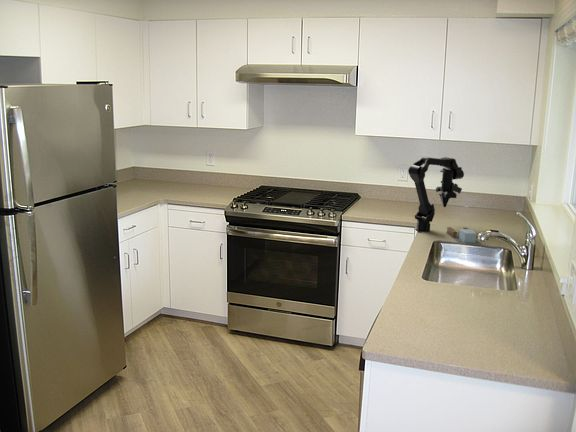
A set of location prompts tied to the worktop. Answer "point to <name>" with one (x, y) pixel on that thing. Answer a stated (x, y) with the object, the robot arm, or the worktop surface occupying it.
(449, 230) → the chute
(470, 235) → the block
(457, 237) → the pad
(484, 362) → the worktop surface
